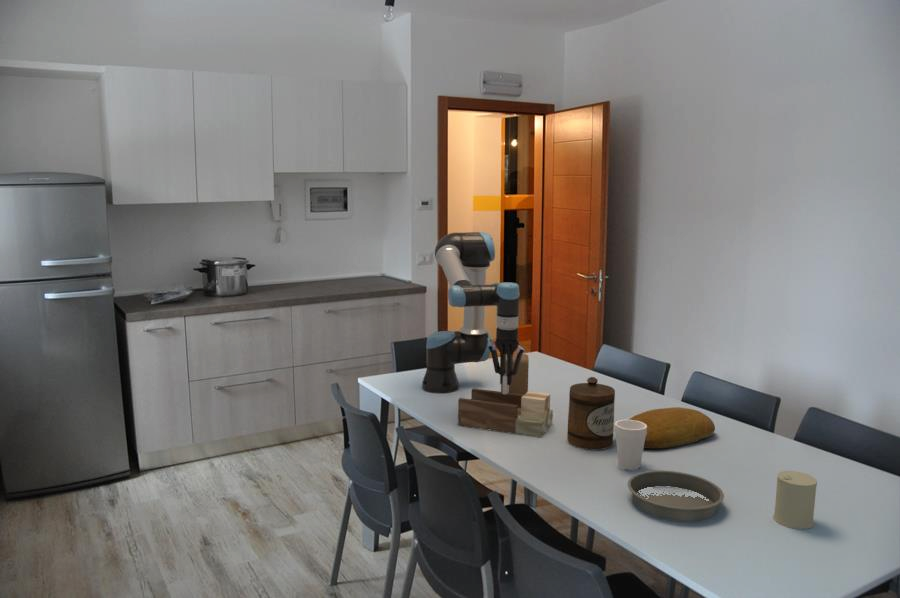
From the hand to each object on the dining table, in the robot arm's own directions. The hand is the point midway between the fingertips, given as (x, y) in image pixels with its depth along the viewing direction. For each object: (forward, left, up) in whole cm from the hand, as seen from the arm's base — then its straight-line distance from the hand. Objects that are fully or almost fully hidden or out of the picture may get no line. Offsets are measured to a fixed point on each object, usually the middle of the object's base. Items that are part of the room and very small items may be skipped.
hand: (505, 393), depth 252 cm
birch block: (+1, +11, -6) cm, 13 cm away
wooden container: (+5, +31, -12) cm, 34 cm away
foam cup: (+21, +46, -12) cm, 52 cm away
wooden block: (-20, -3, -12) cm, 23 cm away
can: (+41, +90, -12) cm, 100 cm away
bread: (-9, +54, -12) cm, 56 cm away
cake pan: (+42, +61, -12) cm, 75 cm away
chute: (0, 0, -11) cm, 11 cm away
